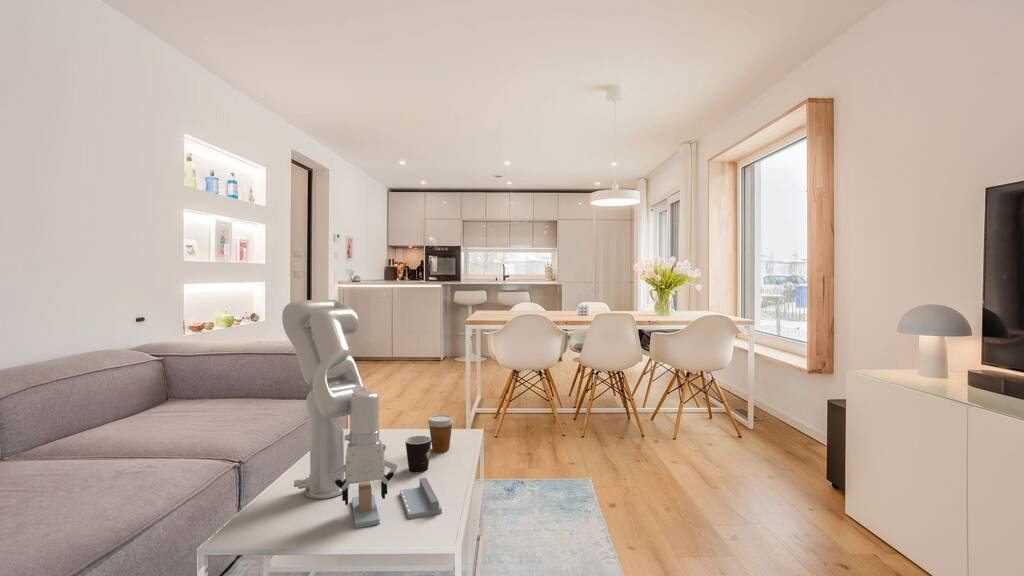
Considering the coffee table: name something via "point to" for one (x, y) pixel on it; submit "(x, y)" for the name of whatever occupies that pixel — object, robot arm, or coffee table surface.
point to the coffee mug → (418, 453)
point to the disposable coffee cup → (440, 432)
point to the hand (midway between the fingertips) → (365, 499)
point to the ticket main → (420, 500)
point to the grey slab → (365, 507)
